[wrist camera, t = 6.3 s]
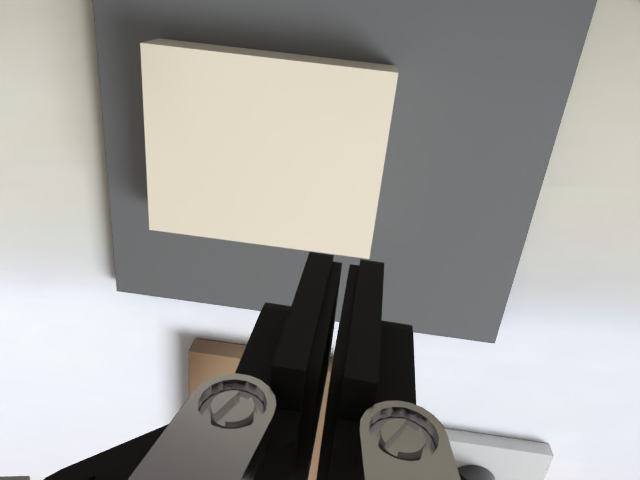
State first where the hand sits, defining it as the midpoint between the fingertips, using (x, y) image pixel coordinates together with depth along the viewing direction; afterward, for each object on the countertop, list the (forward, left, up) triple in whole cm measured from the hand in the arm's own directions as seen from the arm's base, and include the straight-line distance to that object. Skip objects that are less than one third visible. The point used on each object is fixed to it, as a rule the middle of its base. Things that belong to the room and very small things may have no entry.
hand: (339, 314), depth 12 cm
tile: (-1, 0, -12) cm, 12 cm away
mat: (+2, 0, -14) cm, 14 cm away
